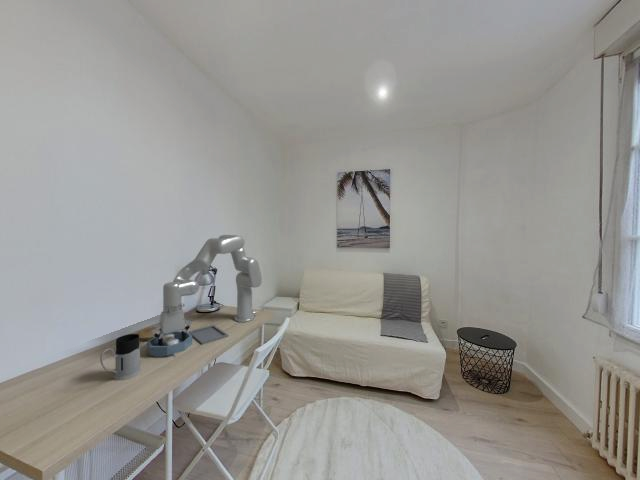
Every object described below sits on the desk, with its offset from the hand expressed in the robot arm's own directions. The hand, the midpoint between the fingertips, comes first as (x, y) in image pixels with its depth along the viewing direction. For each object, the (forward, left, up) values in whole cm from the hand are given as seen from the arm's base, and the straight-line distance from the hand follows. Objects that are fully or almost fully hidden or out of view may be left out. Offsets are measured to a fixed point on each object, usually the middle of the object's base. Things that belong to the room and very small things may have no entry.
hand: (172, 342), depth 121 cm
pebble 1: (0, -7, -3) cm, 8 cm away
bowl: (0, -4, -4) cm, 5 cm away
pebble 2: (0, 0, -3) cm, 3 cm away
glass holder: (+21, +10, -4) cm, 24 cm away
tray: (-19, -5, -4) cm, 20 cm away
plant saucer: (+3, -26, -4) cm, 26 cm away
